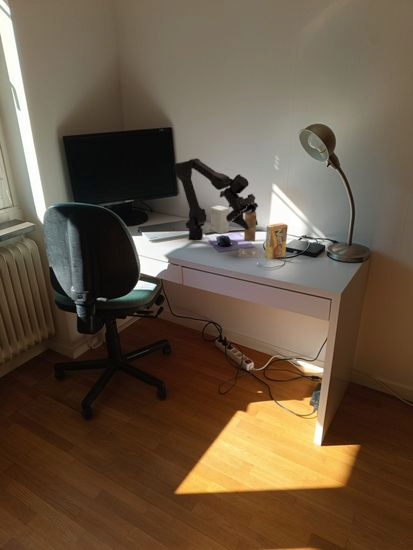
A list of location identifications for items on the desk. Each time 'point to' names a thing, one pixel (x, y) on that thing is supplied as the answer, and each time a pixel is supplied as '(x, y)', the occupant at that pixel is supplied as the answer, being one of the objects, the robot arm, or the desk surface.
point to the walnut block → (250, 226)
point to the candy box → (276, 240)
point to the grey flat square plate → (249, 253)
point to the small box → (219, 219)
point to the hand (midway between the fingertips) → (252, 227)
